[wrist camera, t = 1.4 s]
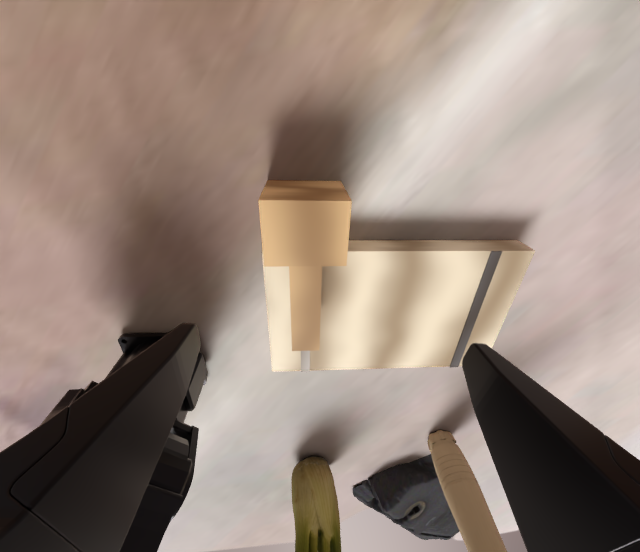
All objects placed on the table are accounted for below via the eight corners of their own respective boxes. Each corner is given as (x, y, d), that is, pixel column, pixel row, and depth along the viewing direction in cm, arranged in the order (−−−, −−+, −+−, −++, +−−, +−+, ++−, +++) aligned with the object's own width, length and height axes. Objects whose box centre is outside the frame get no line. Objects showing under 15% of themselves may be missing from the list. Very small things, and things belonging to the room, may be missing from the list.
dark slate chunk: (406, 526, 52) (415, 562, 48) (344, 480, 42) (348, 521, 38) (488, 500, 48) (506, 536, 44) (441, 443, 38) (458, 483, 34)
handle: (445, 416, 34) (533, 601, 22) (465, 439, 37) (553, 615, 24) (410, 432, 36) (472, 616, 23) (432, 453, 38) (498, 627, 26)
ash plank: (273, 355, 28) (272, 372, 26) (264, 240, 22) (261, 252, 20) (473, 350, 29) (484, 366, 27) (517, 240, 23) (536, 251, 21)
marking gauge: (276, 309, 25) (271, 351, 21) (267, 180, 19) (258, 200, 15) (333, 308, 25) (339, 349, 21) (340, 180, 20) (351, 200, 15)
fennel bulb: (339, 466, 39) (353, 595, 28) (308, 477, 40) (311, 606, 30) (317, 446, 36) (324, 582, 26) (285, 459, 37) (279, 594, 27)
